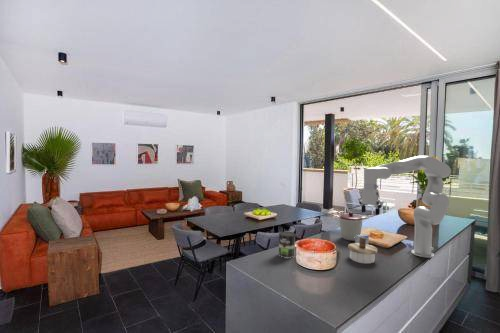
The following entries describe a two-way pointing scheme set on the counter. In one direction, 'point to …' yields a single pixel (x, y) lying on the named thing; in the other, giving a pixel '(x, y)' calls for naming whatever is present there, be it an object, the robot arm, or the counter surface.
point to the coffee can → (286, 244)
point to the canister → (350, 226)
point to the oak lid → (362, 247)
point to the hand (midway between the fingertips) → (370, 213)
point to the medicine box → (361, 236)
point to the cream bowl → (362, 257)
